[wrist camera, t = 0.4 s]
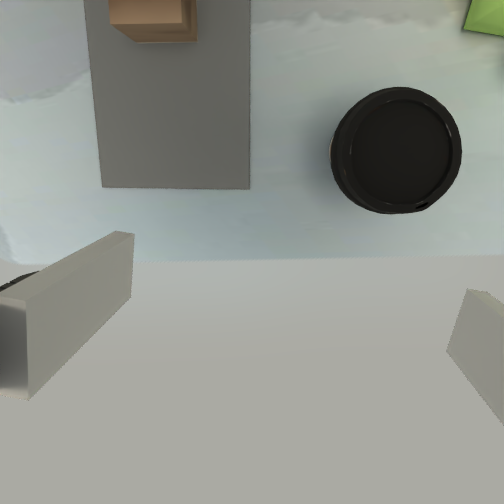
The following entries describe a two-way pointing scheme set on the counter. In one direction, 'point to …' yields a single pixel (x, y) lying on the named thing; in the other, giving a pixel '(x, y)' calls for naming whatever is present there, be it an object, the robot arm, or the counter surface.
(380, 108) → the coffee cup
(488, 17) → the teapot
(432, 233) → the counter surface
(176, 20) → the walnut cube
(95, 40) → the rubber mat
